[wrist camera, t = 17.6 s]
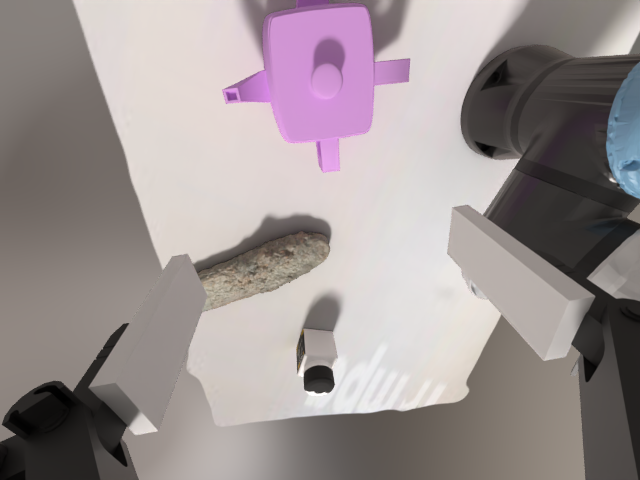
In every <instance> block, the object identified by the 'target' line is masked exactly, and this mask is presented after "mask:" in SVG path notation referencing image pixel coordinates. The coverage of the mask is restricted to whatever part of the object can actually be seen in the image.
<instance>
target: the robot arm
mask: <svg viewBox="0 0 640 480" xmlns="http://www.w3.org/2000/svg"><path fill="white" fill-rule="evenodd" d="M461 129H462V134H463V137H464V139H465V141H466V143H467V144H468V146H469V147H470V148H471V149H472V150H473V151H475V152H476V153H478V154H480V155H483V156H485V157H488V158H491V159H498V160H506V159H519V158H521V159H520V160H519V162H518V163H517V165H516V166H515V168H514V169H513V170H512V172H511V173H510V175H509V176H508V178H507V180H506V181H505V183H504V184H503V186H502V187H501V189H500V190H499V192H498V193H497V195H496V196H495V198H494V199H493V201H492V202H491V204H490V205H489V207H488V208H487V210H486V211H485V213H484V214H483V215H481V214H480V213H479V212H477V211H476V210H474V209H473V208H472V207H470V206H469V205H463V206H458V207H452V216H451V225H450V234H449V243H448V252H447V254H448V255H449V256H450V257H451V258H452V259H453V260H454V261H455V263H456V264H457V265H458V266H459V267H460V268H461V269H462V270H463V272H464V273H465V274H466V275H467V276H468V277H469V278H470V279H471V280H472V282H473V283H474V284H475V285H476V286H477V287H478V288H479V289H480V290H481V292H482V293H483V294H484V295H485V296H486V297H487V298H488V299H489V301H490V302H491V303H492V304H493V305H494V306H495V307H496V308H497V309H498V311H499V312H500V313H501V314H502V315H503V316H504V317H505V318H506V319H507V320H508V321H509V323H510V324H511V325H512V326H513V327H514V328H515V329H516V331H517V332H518V333H519V334H520V335H521V336H522V337H523V338H524V340H525V341H526V342H527V343H528V344H529V345H530V346H531V347H532V348H533V349H534V351H535V352H536V353H537V354H538V355H539V356H540V357H541V358H542V359H543V361H545V360H551V359H556V358H562V357H566V355H567V353H568V351H569V349H570V347H571V345H573V346H574V347H575V348H576V349H577V350H578V351H579V352H580V353H581V354H580V356H579V358H578V360H577V361H576V363H575V365H574V367H573V369H572V371H571V375H572V376H575V375H576V373H577V371H579V385H580V402H581V417H582V432H583V448H584V463H585V480H640V224H639V223H636V222H634V221H632V220H629V219H628V218H627V216H628V215H629V214H630V213H631V212H632V211H633V210H634V208H635V207H636V206H637V205H638V204H639V203H640V54H628V55H613V56H599V57H585V58H575V57H573V56H570V55H568V54H566V53H564V52H562V51H560V50H558V49H555V48H553V47H550V46H545V45H530V46H522V47H517V48H514V49H511V50H508V51H506V52H504V53H502V54H501V55H499V56H498V57H496V58H495V59H493V60H492V61H491V62H490V63H489V64H488V65H487V66H486V67H485V68H484V69H483V70H482V71H481V72H480V73H479V74H478V76H477V77H476V78H475V80H474V82H473V83H472V85H471V86H470V88H469V90H468V92H467V95H466V97H465V100H464V103H463V107H462V112H461ZM629 212H630V213H629ZM207 297H208V295H207V293H206V291H205V289H204V287H203V285H202V283H201V281H200V278H199V276H198V274H197V272H196V270H195V268H194V266H193V264H192V261H191V259H190V257H189V255H188V254H184V255H178V256H172V258H171V259H170V261H169V262H168V264H167V266H166V267H165V269H164V270H163V272H162V273H161V275H160V276H159V278H158V280H157V281H156V283H155V284H154V286H153V287H152V289H151V290H150V292H149V294H148V295H147V297H146V298H145V300H144V302H143V303H142V305H141V306H140V308H139V309H138V311H137V312H136V314H135V315H134V317H133V319H132V320H131V322H130V323H126V324H123V325H122V326H121V327H120V328H119V329H117V330H116V331H115V332H114V333H113V334H112V335H111V336H110V338H109V340H108V341H107V342H106V344H105V345H104V347H103V350H101V351H100V353H99V354H98V355H97V357H96V360H94V361H93V363H92V364H91V366H90V367H89V369H88V370H87V372H86V373H85V375H84V376H83V377H82V379H81V381H80V382H79V383H78V385H77V386H76V388H75V389H74V391H73V392H72V391H71V390H69V389H68V388H67V387H66V386H65V385H64V384H63V383H62V382H60V381H52V382H48V383H44V384H42V385H41V386H39V387H37V388H34V389H33V390H31V391H30V392H29V393H27V394H26V395H24V396H23V397H22V398H20V399H19V400H18V402H16V403H15V404H14V405H13V406H12V407H11V408H10V410H9V411H8V413H7V414H6V415H5V417H4V420H3V423H2V425H3V426H5V427H6V428H8V429H9V430H10V431H12V432H13V433H15V434H16V435H15V436H13V437H11V438H8V439H6V440H4V441H2V442H0V480H139V479H138V477H137V474H136V471H135V468H134V465H133V462H132V460H131V457H130V454H129V451H128V448H127V445H126V443H125V442H124V441H123V440H122V436H123V433H124V431H125V429H126V427H128V428H129V429H130V430H131V431H132V432H133V433H134V434H135V435H139V434H145V433H150V432H155V431H159V428H160V425H161V422H162V420H163V417H164V414H165V411H166V409H167V406H168V403H169V400H170V398H171V395H172V392H173V390H174V387H175V384H176V382H177V379H178V376H179V373H180V371H181V368H182V364H183V362H184V360H185V356H186V354H187V351H188V349H189V346H190V343H191V340H192V338H193V335H194V332H195V329H196V327H197V324H198V321H199V318H200V316H201V313H202V310H203V308H204V305H205V302H206V299H207Z"/></svg>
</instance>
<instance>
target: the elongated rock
mask: <svg viewBox="0 0 640 480" xmlns="http://www.w3.org/2000/svg"><path fill="white" fill-rule="evenodd" d="M329 252H330V246H329V242H328V240H327V238H326V236H324V235H322V234H320V233H317V234H316V233H314V232H312V233H305V232H304V231H300V232H299V233H297V234H295V235H292V234H290V235H288V236H285V237H283V238H279V239H276V240H274V241H269V242H268V243H267V242H264V244H263V245H262V246H260V247H256V248H255V249H253V250H249V251H248V252H246V253H244V254H241V255H238V256H237V257H234V258H233V259H231V260H229V261H227V262H224V263H220V264H217V265H215V266H212V268H210V269H203V270H202V271H201V272H199V273H197V274H198V276H199V278H200V281H201V283H202V285H203V287H204V289H205V291H206V293H207V295H208V297H207V299H206V302H205V305H204V308H203V310H202V312H204V311H208V310H210V309H215V308H218V307H221V306H224V305H227V304H229V303H231V302H234V301H237V300H241V299H244V298H248V297H251V296H253V295H255V294H258V293H264V292H271V291H273V290H275V289H277V288H279V286H282V285H283V284H286V283H287V282H289V283H290V282H291V281H292V280H294V279H297V278H298V277H299V276H301V275H303V274H306V273H308V272H310V270H311V269H313V268H314V267H316V266H318V265H319V264H321V263H322V262H324V260H325V259H326V258H327V257H328V254H329Z"/></svg>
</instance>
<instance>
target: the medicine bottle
mask: <svg viewBox="0 0 640 480" xmlns="http://www.w3.org/2000/svg"><path fill="white" fill-rule="evenodd" d="M296 350H297V375H298V376H302V377H304V389H305V391H306V392H307V393H308V394H310V395H313V396H322V395H325V394H328V393H329V392H331V391H332V389H333V388H334V385H335V384H334V377H333V371H332V370H333V367H334V365H335V363H336V360H337V358H338V356H337V351H336V346H335V340H334V335H333V332H332V331H324V330H314V329H303V330H302V333H301V336H300V340H299V343H298V346H297V349H296Z"/></svg>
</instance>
